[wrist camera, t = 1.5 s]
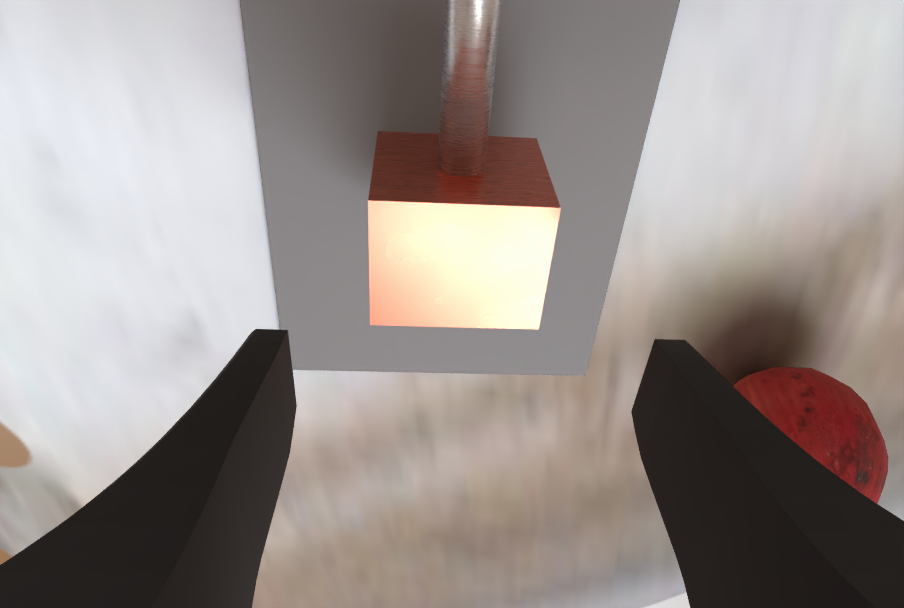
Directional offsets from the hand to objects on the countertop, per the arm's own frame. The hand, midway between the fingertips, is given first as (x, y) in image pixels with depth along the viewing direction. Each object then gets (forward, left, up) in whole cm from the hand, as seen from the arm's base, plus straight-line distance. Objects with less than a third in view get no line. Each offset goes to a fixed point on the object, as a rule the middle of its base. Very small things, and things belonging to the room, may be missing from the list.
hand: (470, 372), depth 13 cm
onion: (+16, +1, -10) cm, 19 cm away
